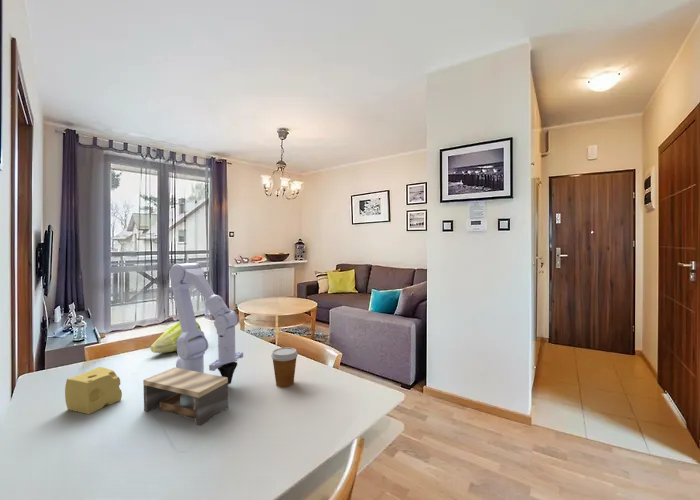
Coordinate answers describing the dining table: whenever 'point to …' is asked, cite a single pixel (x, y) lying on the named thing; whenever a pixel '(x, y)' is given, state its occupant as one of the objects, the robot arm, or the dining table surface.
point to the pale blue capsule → (187, 401)
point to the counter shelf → (188, 391)
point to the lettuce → (168, 339)
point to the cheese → (92, 390)
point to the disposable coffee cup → (284, 366)
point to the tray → (177, 407)
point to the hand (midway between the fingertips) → (227, 383)
